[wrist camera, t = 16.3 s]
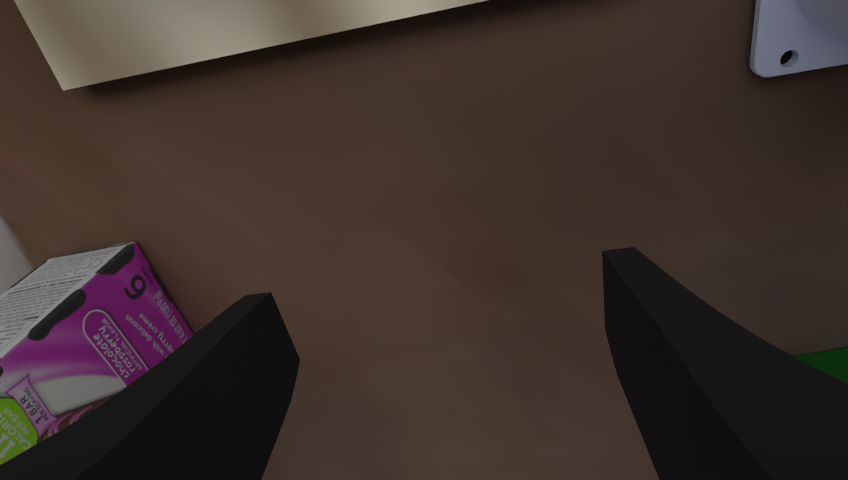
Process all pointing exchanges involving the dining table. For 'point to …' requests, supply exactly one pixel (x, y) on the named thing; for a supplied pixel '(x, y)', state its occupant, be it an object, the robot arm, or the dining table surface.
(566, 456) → the dining table surface
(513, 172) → the dining table surface
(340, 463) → the dining table surface
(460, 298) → the dining table surface
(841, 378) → the milk carton
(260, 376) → the robot arm
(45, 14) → the marked board
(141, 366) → the candy bar box
